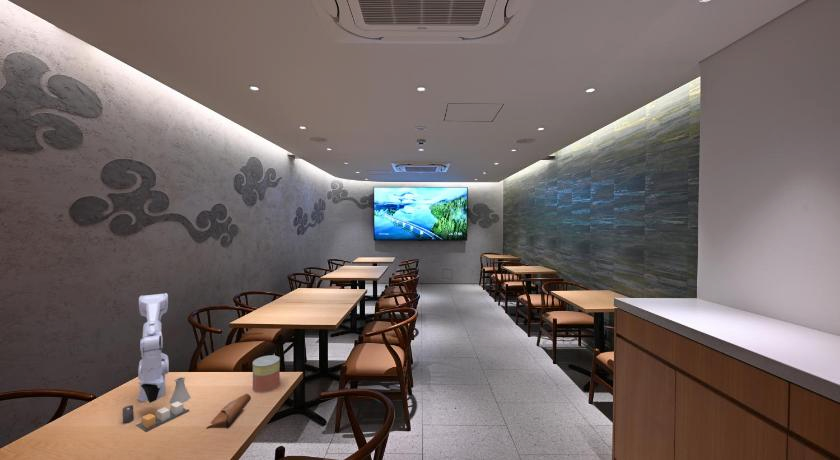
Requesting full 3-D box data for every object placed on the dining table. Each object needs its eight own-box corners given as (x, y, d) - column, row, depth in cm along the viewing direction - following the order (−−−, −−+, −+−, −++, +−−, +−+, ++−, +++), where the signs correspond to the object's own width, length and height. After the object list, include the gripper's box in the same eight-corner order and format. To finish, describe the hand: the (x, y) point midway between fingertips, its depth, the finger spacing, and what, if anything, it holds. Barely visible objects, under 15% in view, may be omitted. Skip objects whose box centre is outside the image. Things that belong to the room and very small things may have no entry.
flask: (179, 408, 128) (178, 384, 128) (164, 406, 130) (164, 382, 130) (195, 398, 136) (195, 375, 135) (181, 396, 137) (180, 373, 137)
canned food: (283, 379, 152) (283, 355, 152) (273, 392, 141) (273, 365, 140) (259, 380, 151) (259, 355, 151) (247, 393, 140) (247, 366, 140)
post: (117, 424, 118) (117, 409, 118) (132, 418, 122) (132, 403, 122) (123, 428, 116) (123, 412, 116) (138, 421, 120) (138, 406, 119)
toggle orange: (142, 425, 116) (141, 416, 116) (150, 421, 119) (150, 413, 118) (147, 428, 115) (147, 420, 114) (155, 424, 117) (155, 416, 117)
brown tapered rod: (230, 401, 134) (238, 387, 134) (245, 408, 134) (253, 395, 135) (204, 429, 116) (214, 413, 116) (222, 438, 116) (231, 422, 117)
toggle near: (170, 411, 124) (170, 404, 124) (177, 408, 127) (177, 401, 126) (175, 414, 123) (175, 407, 122) (183, 411, 125) (183, 403, 125)
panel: (135, 427, 116) (135, 423, 116) (178, 408, 129) (178, 404, 129) (146, 434, 113) (145, 430, 112) (189, 413, 125) (189, 409, 125)
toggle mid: (156, 418, 120) (156, 410, 120) (164, 414, 123) (164, 407, 122) (162, 421, 119) (162, 413, 118) (169, 417, 121) (169, 410, 121)
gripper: (130, 366, 123) (130, 401, 124) (148, 375, 117) (149, 411, 117) (152, 359, 130) (152, 392, 130) (170, 367, 123) (171, 401, 123)
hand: (152, 400), depth 124 cm, fingers closed
